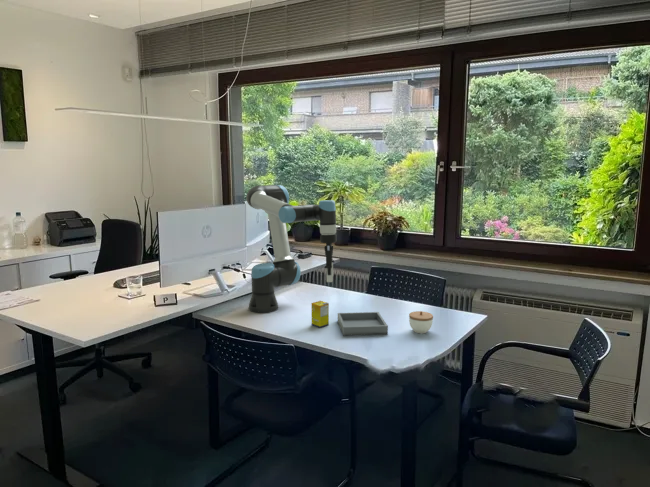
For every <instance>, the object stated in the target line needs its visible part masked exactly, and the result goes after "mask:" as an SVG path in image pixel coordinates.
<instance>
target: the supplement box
mask: <svg viewBox="0 0 650 487" xmlns="http://www.w3.org/2000/svg"><path fill="white" fill-rule="evenodd" d="M310 305H311V326H313V327H315V328H319V329H321V328H324V327H327V326H329V325H330V321H329V318H330V316H329V312H330V310H329V309H330V308H329V307H330V306H329V302H325V301H324V300H319V301H314V302H311V304H310Z"/></svg>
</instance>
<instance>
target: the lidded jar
mask: <svg viewBox="0 0 650 487" xmlns="http://www.w3.org/2000/svg"><path fill="white" fill-rule="evenodd" d="M408 314H409V315H408V317H409V318H408V319H409V320H408V321H409V326H410V328H411V329H412V331H413V332H414V333H416V334H426V333H428V331H430V330H431V328H432V325H433V322H434V321H433V319H434V315H433V314H432V313H431V312H427V311H423V310H420V311H417V310H416V311H412V312H410V313H408Z"/></svg>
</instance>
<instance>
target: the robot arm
mask: <svg viewBox="0 0 650 487" xmlns="http://www.w3.org/2000/svg"><path fill="white" fill-rule="evenodd" d="M245 199H246V203H247V205H249V206H250V207H251V208H252V209H255V210H262V211H264V212H265V213H266V214H267V216H268V222H269V228H270V233H271V234H270V235H271V242H272V247H273V254H274V259H273V261H272V262H263V263H262V262H261V263H257V264H255V265H253V267H251V275H250V276H251V297H250V300H249V303H248V310H249V311H250V312H253V313H257V314H259V313H260V314H261V313H262V314H266V313H273V312H275V311H277V310H278V309H279V303H278V300H277V297H276V295H275V294H276V293H275V288H279V287H284V286H291V285H294V284H296V283H298V282H299V280H300V278H301V274H302V273H301V272H302V271H301V267H300V264H299V263H298V262H297V261H295V258H294V257H293V256H292V254H291V248H290V242H289V236H288V230H287V224H291V223H302V222H311V221H312V222H313V221H319V233H320V235H319V237H320V238H319V239H320V243H322V244H325V245H324V254H325V255H324V256H325V266H324V269H326V270H325V272H326V275H325V276H326V283H333V280H334V279H333V277H334V263H335V259H333V254H334V245H333V243H336V242H337V239H338V238H337V237H338V236H337V229H338V226H337V215H336V214H337V209H336V201H335V200H334V199H329V200H328V199H327V200H326V199H324V200H319V202H318V204H314V203H312V204H305V205H292V204H290V195H289V192H288V189H287V188H286V187H285V186H284V185H280V184H279V185H278V184H266V185H255V186H252V187H251V188H249V190H248V191H247V194H246V197H245Z"/></svg>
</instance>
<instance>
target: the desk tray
mask: <svg viewBox="0 0 650 487" xmlns="http://www.w3.org/2000/svg"><path fill="white" fill-rule="evenodd" d="M337 323H338V326H339V328H340V331H341V334H342V336H343V337H352V336H353V337H354V336H383V335H386V336H387V335H388V334H389V333H388V331H389V325H388V323H387V322H386V321H385V319H384V318H383V316H382V315H381V314H380V312H379V311H373V312H372V311H370V312H368V311H367V312H338V313H337Z"/></svg>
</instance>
